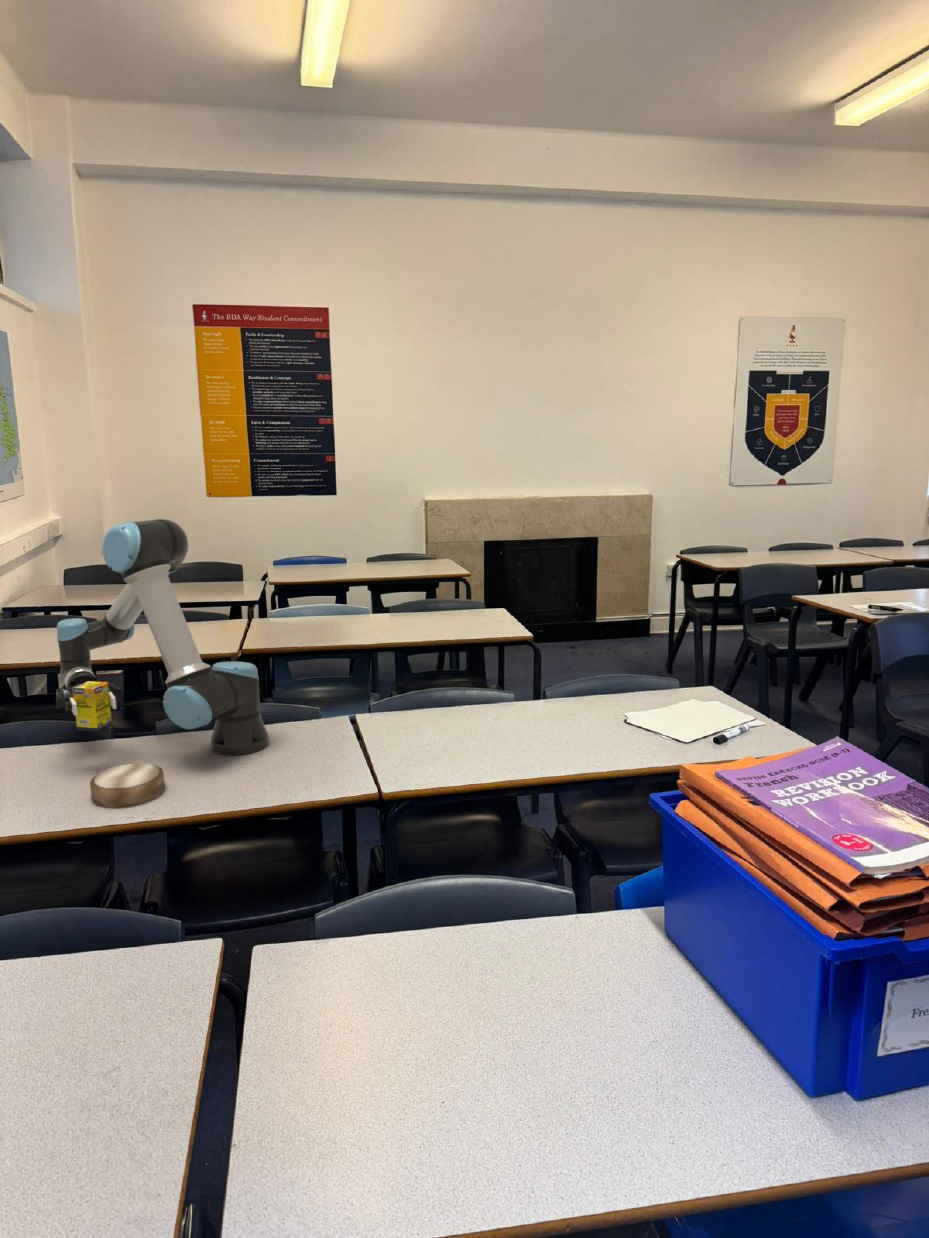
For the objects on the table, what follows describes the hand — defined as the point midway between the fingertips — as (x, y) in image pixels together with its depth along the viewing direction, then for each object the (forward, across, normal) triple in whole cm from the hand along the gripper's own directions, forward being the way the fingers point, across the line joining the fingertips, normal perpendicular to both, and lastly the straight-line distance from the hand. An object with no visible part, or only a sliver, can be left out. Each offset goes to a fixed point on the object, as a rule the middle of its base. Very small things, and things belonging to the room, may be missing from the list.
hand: (95, 706), depth 197 cm
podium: (+15, -4, -18) cm, 23 cm away
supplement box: (-5, 0, -7) cm, 8 cm away
